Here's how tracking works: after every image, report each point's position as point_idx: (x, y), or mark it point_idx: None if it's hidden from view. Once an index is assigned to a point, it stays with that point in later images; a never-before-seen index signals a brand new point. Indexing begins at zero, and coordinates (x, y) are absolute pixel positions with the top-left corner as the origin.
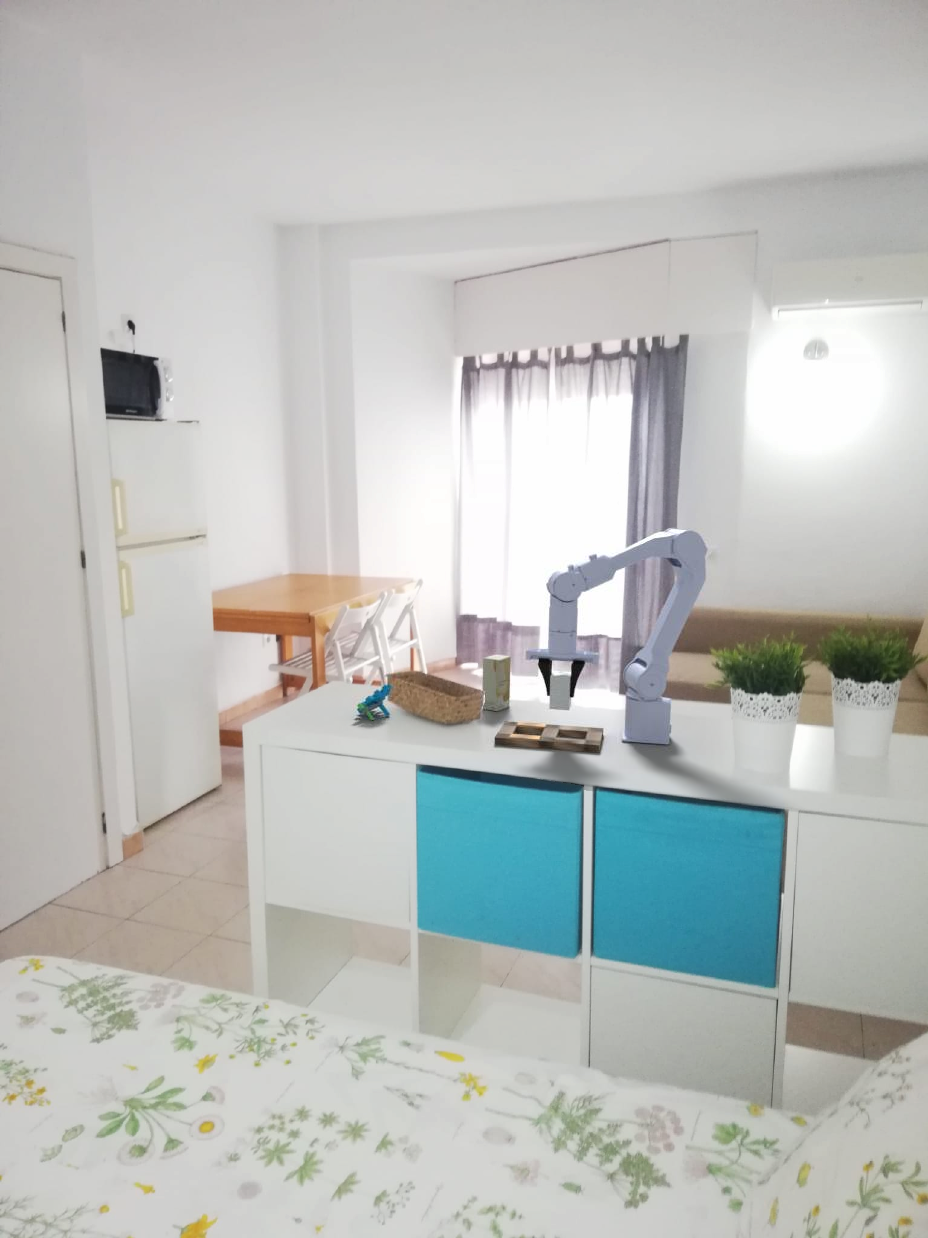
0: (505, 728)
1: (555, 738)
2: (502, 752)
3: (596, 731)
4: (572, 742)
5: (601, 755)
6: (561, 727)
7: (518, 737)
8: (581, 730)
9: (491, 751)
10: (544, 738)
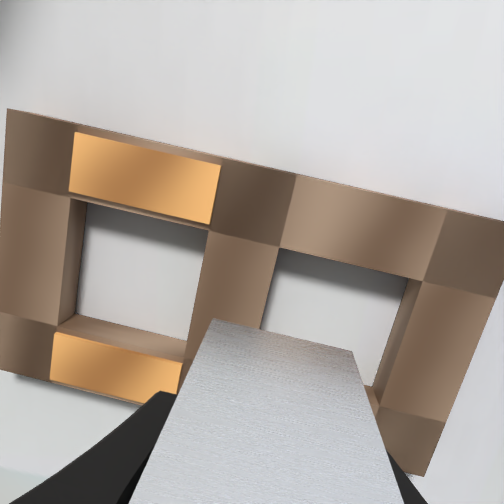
0: (21, 238)
1: None
2: (50, 434)
3: (468, 286)
4: None
5: (415, 479)
6: (295, 217)
7: (86, 386)
8: (392, 267)
9: (12, 422)
10: None
